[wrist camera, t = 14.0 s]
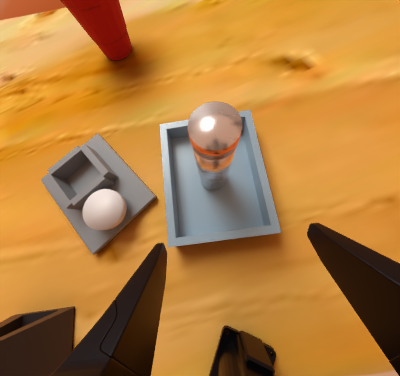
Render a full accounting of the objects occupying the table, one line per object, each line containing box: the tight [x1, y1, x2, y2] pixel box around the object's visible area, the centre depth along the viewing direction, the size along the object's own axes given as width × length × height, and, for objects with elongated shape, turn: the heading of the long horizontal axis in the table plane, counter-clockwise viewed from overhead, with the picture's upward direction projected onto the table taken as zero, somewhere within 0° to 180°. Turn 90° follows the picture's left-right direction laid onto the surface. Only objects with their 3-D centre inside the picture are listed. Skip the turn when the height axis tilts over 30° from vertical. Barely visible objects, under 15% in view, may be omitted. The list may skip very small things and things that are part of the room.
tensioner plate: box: [41, 134, 157, 254], centre depth 24 cm, size 16×12×4 cm
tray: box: [160, 110, 281, 247], centre depth 23 cm, size 18×14×4 cm
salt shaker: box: [187, 102, 242, 191], centre depth 18 cm, size 4×4×13 cm
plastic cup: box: [61, 0, 131, 60], centre depth 28 cm, size 11×11×12 cm
